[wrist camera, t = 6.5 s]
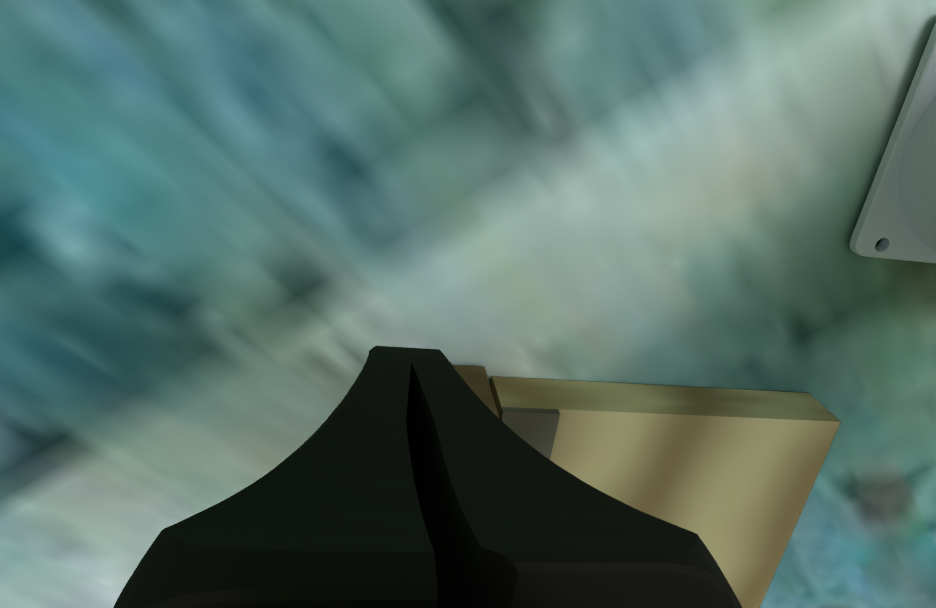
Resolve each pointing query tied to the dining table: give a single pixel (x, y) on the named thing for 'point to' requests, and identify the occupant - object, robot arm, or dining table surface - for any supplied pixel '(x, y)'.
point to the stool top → (685, 458)
